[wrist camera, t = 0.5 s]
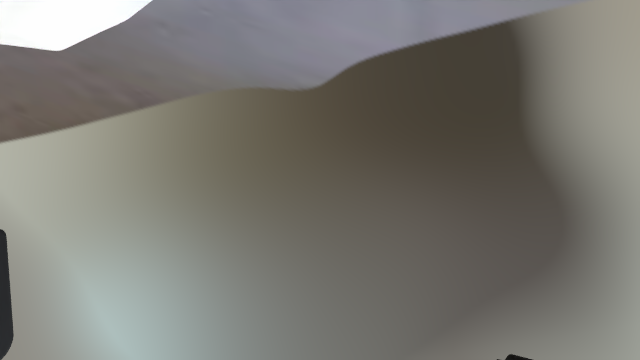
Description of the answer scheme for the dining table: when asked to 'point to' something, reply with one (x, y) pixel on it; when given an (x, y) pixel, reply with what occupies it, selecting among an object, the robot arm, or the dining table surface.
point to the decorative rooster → (60, 20)
